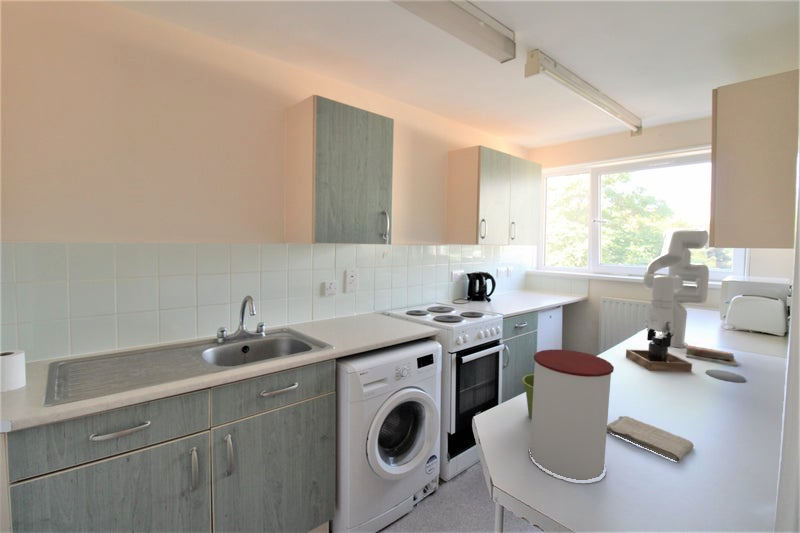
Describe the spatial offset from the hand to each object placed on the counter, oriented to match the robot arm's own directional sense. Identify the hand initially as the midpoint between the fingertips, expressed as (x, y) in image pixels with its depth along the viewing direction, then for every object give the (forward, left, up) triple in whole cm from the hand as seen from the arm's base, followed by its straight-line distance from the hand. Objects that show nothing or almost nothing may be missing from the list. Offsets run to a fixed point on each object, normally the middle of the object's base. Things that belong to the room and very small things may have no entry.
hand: (658, 343), depth 160 cm
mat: (+12, +19, -9) cm, 24 cm away
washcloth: (+63, -42, -10) cm, 76 cm away
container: (+74, -68, -10) cm, 100 cm away
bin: (0, 0, -9) cm, 9 cm away
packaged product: (-10, +30, -10) cm, 34 cm away
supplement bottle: (0, 0, -9) cm, 9 cm away
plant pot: (+53, -67, -10) cm, 85 cm away
